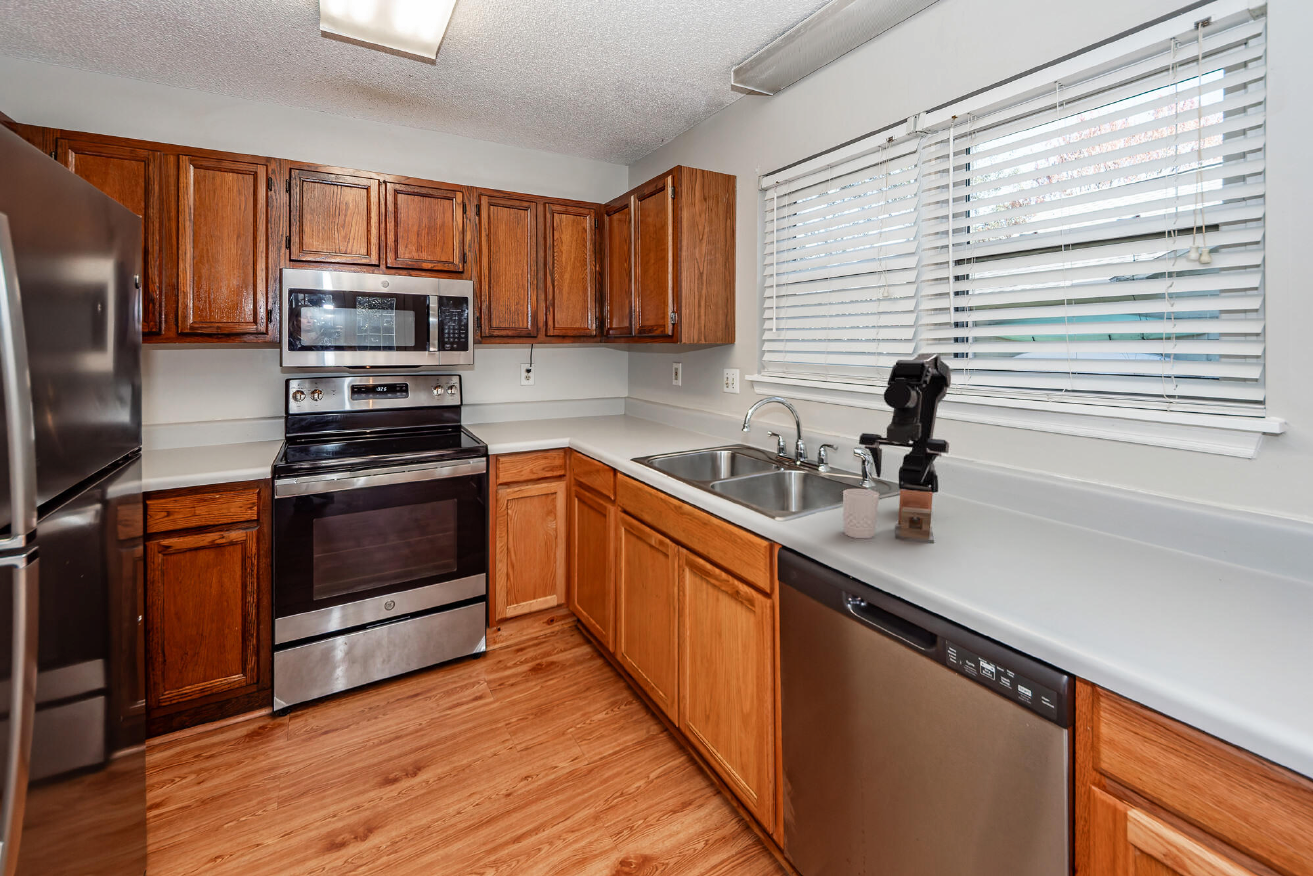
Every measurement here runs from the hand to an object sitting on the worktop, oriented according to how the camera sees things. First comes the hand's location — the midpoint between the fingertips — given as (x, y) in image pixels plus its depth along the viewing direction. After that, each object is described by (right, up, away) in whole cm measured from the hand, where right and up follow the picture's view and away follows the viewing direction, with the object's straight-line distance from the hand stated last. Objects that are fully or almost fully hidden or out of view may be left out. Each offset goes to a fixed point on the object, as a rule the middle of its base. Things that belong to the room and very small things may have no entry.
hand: (899, 480), depth 135 cm
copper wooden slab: (+4, -12, +2) cm, 12 cm away
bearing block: (+4, -13, +1) cm, 13 cm away
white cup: (-9, -13, +1) cm, 16 cm away
